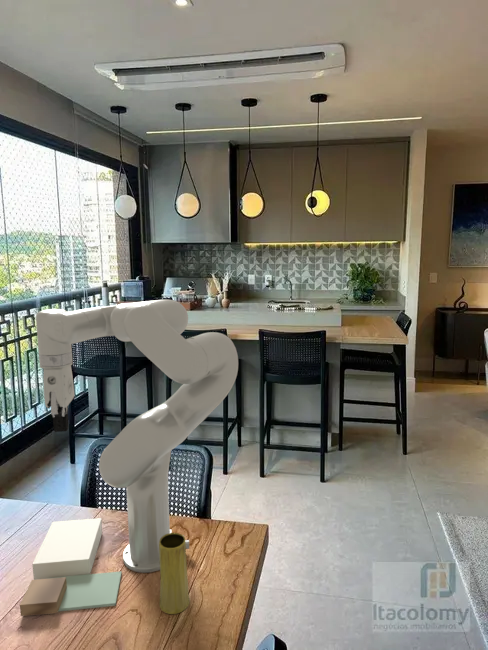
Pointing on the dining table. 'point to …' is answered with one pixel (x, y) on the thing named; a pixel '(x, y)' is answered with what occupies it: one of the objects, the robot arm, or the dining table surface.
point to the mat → (91, 591)
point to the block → (43, 596)
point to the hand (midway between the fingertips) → (61, 430)
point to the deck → (68, 549)
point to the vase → (173, 574)
